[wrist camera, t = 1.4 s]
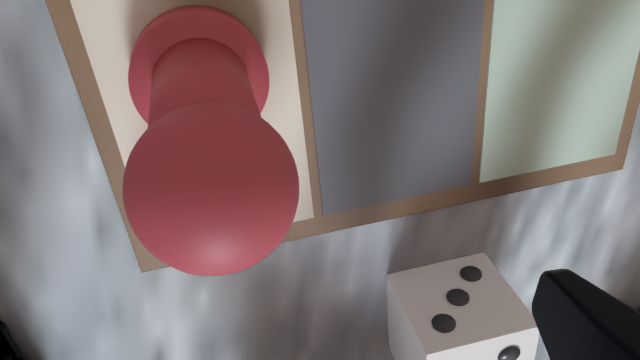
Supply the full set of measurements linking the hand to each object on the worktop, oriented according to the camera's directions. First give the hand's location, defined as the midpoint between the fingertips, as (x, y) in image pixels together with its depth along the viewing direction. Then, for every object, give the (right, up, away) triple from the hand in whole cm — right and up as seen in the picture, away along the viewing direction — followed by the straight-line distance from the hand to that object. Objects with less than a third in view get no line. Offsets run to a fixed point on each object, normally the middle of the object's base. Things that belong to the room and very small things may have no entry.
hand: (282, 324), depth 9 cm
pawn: (-3, +6, +9) cm, 12 cm away
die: (+6, -4, +19) cm, 20 cm away
